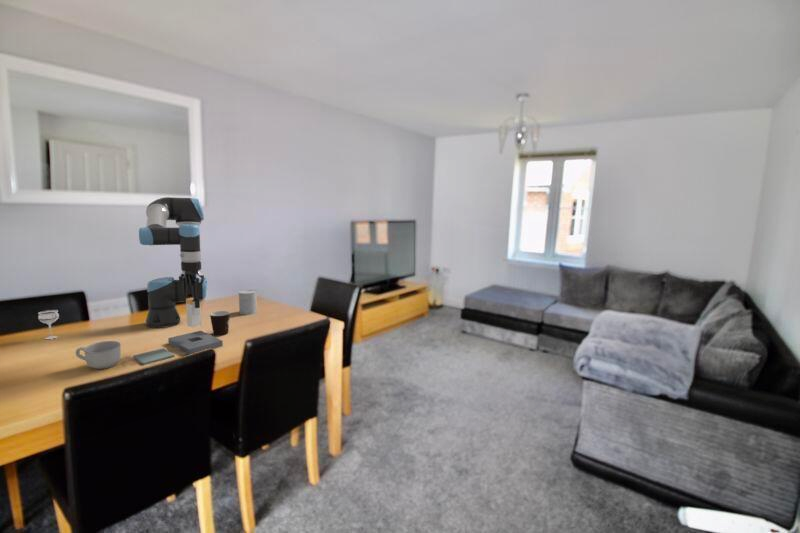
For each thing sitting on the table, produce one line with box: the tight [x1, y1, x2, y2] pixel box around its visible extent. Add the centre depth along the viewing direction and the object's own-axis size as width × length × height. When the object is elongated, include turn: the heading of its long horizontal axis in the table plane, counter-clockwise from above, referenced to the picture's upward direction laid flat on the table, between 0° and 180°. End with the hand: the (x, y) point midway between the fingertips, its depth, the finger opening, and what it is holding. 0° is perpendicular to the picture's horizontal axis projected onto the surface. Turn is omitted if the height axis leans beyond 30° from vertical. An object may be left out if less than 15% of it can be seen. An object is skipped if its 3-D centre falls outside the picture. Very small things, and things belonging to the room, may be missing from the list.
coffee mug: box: [209, 310, 231, 337], centre depth 182 cm, size 12×9×10 cm
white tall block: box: [185, 298, 202, 328], centre depth 164 cm, size 4×4×12 cm
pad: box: [132, 347, 176, 366], centre depth 151 cm, size 11×11×1 cm
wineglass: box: [37, 309, 60, 340], centre depth 168 cm, size 7×7×12 cm
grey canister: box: [238, 289, 258, 316], centre depth 217 cm, size 10×10×12 cm
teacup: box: [75, 340, 122, 370], centre depth 142 cm, size 14×11×8 cm
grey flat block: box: [167, 330, 224, 356], centre depth 166 cm, size 20×14×2 cm
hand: (193, 313), depth 164 cm, fingers closed on white tall block, 4 cm apart
